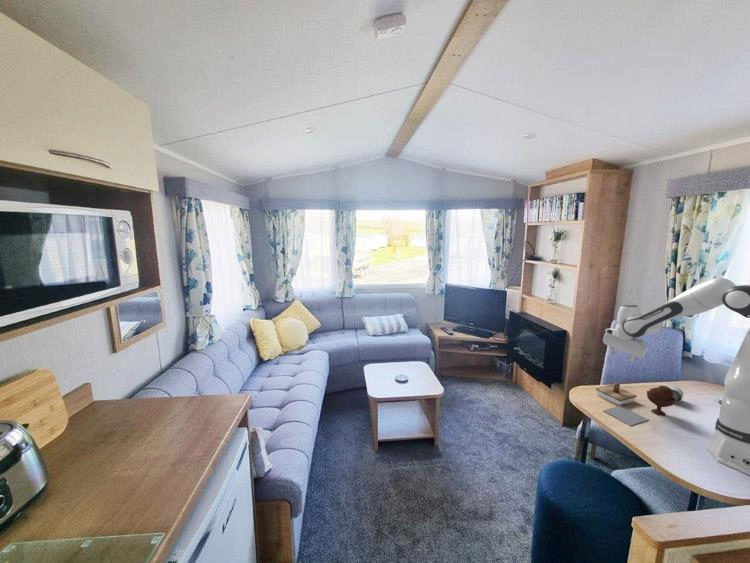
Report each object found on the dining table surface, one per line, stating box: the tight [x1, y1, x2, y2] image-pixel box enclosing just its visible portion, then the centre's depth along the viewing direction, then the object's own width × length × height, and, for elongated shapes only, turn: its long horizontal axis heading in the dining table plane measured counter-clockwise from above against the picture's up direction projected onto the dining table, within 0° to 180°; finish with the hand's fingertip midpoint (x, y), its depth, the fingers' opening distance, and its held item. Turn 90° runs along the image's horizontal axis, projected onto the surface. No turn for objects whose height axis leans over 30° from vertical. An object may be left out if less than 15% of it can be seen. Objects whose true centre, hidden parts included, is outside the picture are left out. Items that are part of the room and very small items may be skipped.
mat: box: [602, 405, 649, 427], centre depth 154 cm, size 13×13×1 cm
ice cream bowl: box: [646, 385, 676, 417], centre depth 155 cm, size 11×11×15 cm
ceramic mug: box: [668, 385, 684, 404], centre depth 168 cm, size 11×8×8 cm
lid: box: [595, 381, 638, 401], centre depth 169 cm, size 13×13×6 cm
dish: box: [596, 390, 636, 406], centre depth 170 cm, size 12×12×3 cm
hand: (621, 358), depth 166 cm, fingers open, 8 cm apart
